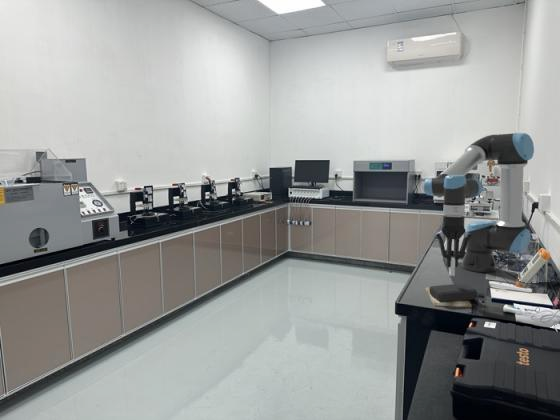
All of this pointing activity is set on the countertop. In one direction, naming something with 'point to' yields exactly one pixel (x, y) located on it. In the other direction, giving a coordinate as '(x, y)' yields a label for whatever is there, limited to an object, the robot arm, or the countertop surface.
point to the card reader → (453, 292)
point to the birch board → (450, 303)
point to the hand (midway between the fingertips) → (451, 274)
